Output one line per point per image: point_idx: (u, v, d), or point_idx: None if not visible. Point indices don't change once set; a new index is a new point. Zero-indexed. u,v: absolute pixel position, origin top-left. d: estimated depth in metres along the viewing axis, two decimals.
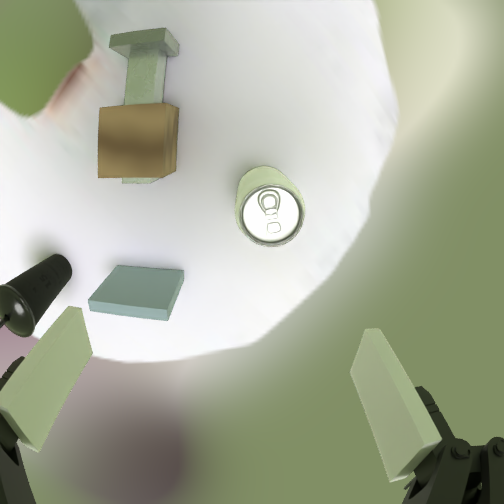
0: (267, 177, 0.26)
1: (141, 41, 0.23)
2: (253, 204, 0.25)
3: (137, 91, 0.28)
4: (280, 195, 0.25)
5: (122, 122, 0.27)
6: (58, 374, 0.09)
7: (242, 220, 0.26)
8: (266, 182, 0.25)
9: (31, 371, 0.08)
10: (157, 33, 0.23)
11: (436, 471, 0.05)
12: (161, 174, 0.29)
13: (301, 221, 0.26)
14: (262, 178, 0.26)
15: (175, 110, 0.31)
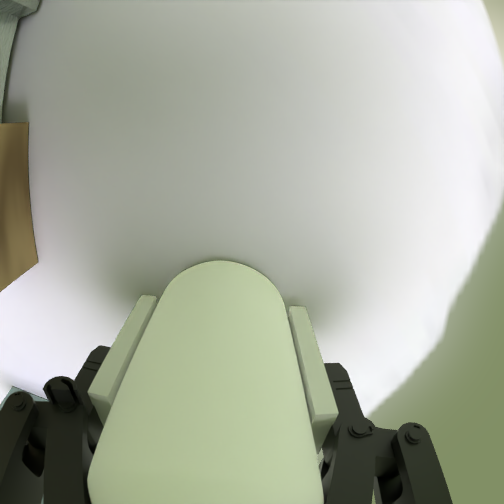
0: (167, 470, 0.04)
1: None
2: None
3: None
4: None
5: None
6: None
7: None
8: None
9: (123, 357, 0.09)
10: None
11: (335, 454, 0.07)
12: None
13: None
14: (144, 469, 0.04)
15: (7, 132, 0.09)
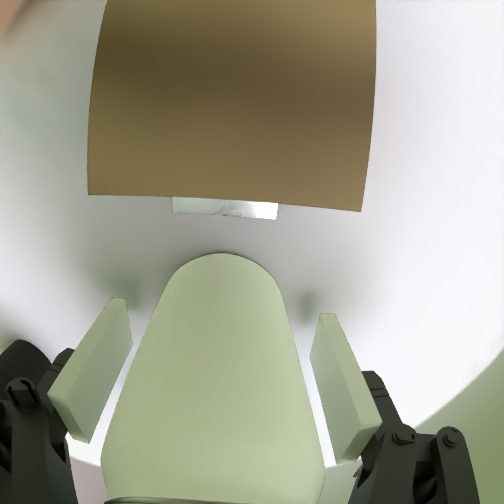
0: (182, 435, 0.05)
1: None
2: None
3: None
4: None
5: None
6: (107, 364, 0.10)
7: None
8: (174, 471, 0.04)
9: (85, 361, 0.09)
10: None
11: (378, 459, 0.06)
12: (359, 199, 0.08)
13: None
14: (160, 437, 0.05)
15: None
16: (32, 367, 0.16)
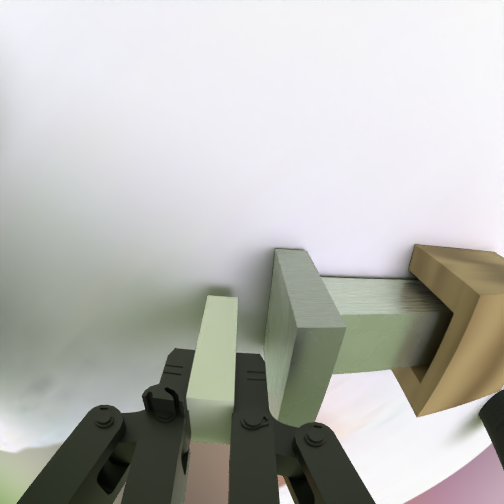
0: None
1: (324, 384, 0.10)
2: None
3: (406, 345, 0.13)
4: None
5: (465, 374, 0.11)
6: None
7: None
8: None
9: (212, 358, 0.10)
10: (313, 347, 0.09)
11: (230, 449, 0.07)
12: None
13: None
14: None
15: (437, 256, 0.14)
16: (500, 405, 0.21)
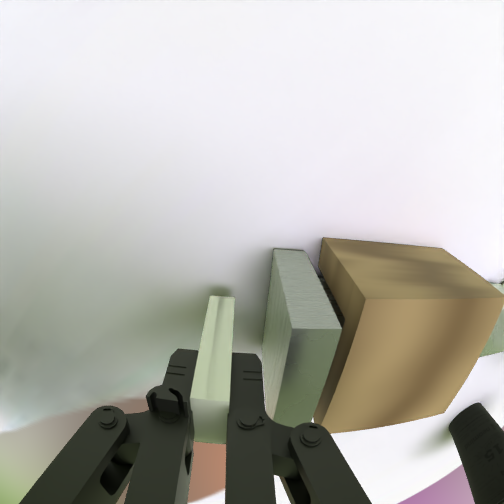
0: None
1: (319, 385, 0.10)
2: None
3: None
4: None
5: (373, 393, 0.11)
6: None
7: None
8: None
9: (215, 359, 0.10)
10: (308, 349, 0.09)
11: (226, 449, 0.07)
12: (502, 299, 0.10)
13: None
14: None
15: (341, 250, 0.13)
16: (470, 420, 0.21)
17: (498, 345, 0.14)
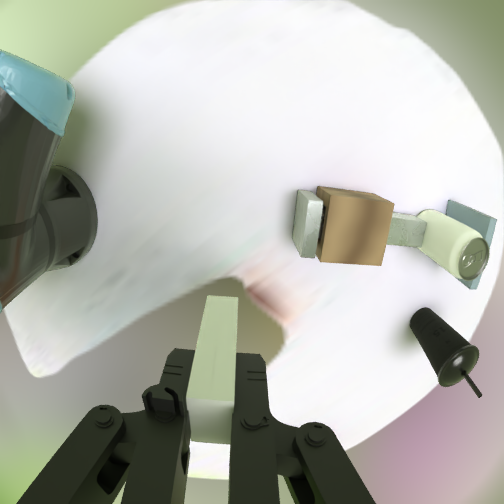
0: (449, 257, 0.29)
1: (318, 225, 0.31)
2: (464, 271, 0.28)
3: None
4: (465, 253, 0.28)
5: (340, 239, 0.33)
6: None
7: (470, 277, 0.29)
8: (455, 260, 0.28)
9: (212, 358, 0.10)
10: (313, 208, 0.31)
11: (231, 449, 0.07)
12: (391, 204, 0.31)
13: (481, 238, 0.27)
14: (449, 261, 0.29)
15: (324, 188, 0.35)
16: (422, 316, 0.42)
17: (411, 241, 0.35)
